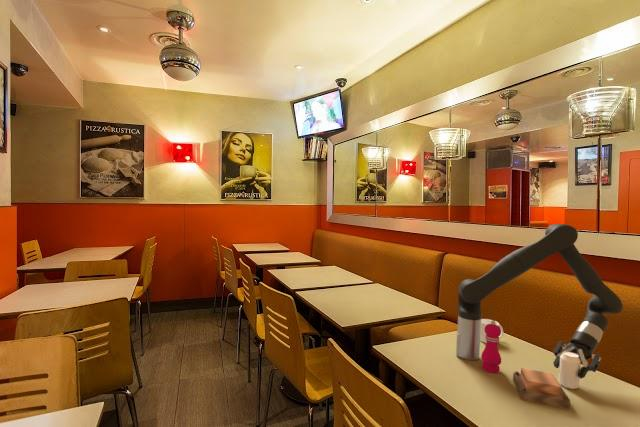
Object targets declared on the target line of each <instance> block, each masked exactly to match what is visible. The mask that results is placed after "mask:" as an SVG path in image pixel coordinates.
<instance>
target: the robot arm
mask: <svg viewBox="0 0 640 427" xmlns="http://www.w3.org/2000/svg"><path fill="white" fill-rule="evenodd" d="M544 234H545V235H544V236H543V237H542V238H540V239H539V240H537V241H535V242H533V243H531V244H528V245H525V246H523V247H520V248H518V249H516V250H514V251H512V252H510V253H509V254H507V255H506V256H504V257H503V258H501V259H499V260H498V262H497V263H495V264H494V265H493V267H492V268H491V269H489V271H487V273H485V274H484V275H482V276H480V277H479V278H476V279H471V278H467V279H464V280H462V281H461V283H460V284H459V286H458V297H457V299H458V300H457V302H458V303H457V310H458V311H457V312H458V313H457V316H458V317H457V331H456V341H455V342H456V344H455V345H456V346H455V348H456V349H455V353H456V354H455V355H456V357H459V358H462V359H463V360H469V361H477V360H479V359H480V348H481V347H480V345H481V341H480V331H481V319H482V308H481V307H482V306H481V305H482V304H481V301H483V300H484V299H486V298H487V297H488V296H489V295H490V294H492V293H493V292H495V291H496V290H497V289H499V288H501V287H502V286H504V285H506V284H507V283H510V282H511V281H512V280H515V279H517V278H518V277H520V276H521V275H523V274H524V273H526V272H528V271H529V270H531V269H532V268H534V267H535V266H537V265H539V264H540V263H542V262H543V261H544V260H546V259H547V258H549V257H551V256H553V255H556V253H558V254H560V256H561V257H562V258H563V260H564V261H565V263H566V264H567V266H568V267H569V268H570V270H571V272H572V273H573V275H574V276H575V278H576V279H577V281H578V283H579V284H580V285H581V287H582V289H583V290H584V291H585V292H586V293H588V294H592V295H593V296H591V298H590V299H589V300H588V303H587V308H586V314H585V317H584V318H583V320H582V321H581V323H580V324H579V325H578V327H577V328H576V330H575V331H574V334H573V335H572V337H571V339H570V340H569V341H570V342H569V343H567V344H566V343H563V341H561V340H559V341H558V342H557V344H556V346H555V348H554V349H553V350H552V353H553V355H554V356H555V359H554V361H553V366H554V368H555V369H559V366H560V356H561V355H562V353H563V352H565V351H566V352H572V353H575V354H577V355H578V356H579V359H580V361H581V362H582V366H580V371H579V372H578V377H579V378H580V379H585V377H586V375H587V374H588V372H593V373H596V371H597V370H598V368H599V366H600V364H601V362H602V357H601V356H600V354H598V353H596V354H594V352H595V350H596V348H597V347H598V345H599V343H600V342H601V339H602V337H603V335H604V333H605V331H606V329H607V327H608V325H609V320H608V318H607V316H605V315H604V314H606V315H607V314H608V315H609V314H610V315H611V314H612V315H616V314H620V313H621V312H622V311H623V307H624V306H623V301H622V300H621V298H620V297H619V296H618V295H617V294H616V293H615V292H614V291H613V290H612V289H611V288H610V287H608V285H606V284H605V283H604V281H603V280H602V278H601V277H600V275H599V274H598V273H597V271H596V270H595V268H594V267H593V266H592V264H590V262H589V261H588V260H587V259H586V258H585V257H584V256H583V255H582V253H580V251H579V250H578V248H577V247H576V246H575V243H576V242H577V241H578V237H579V233H578V231H577V228H575V227H574V226H573V225H569V224H566V223H554V224H551V225H549V226H548V227H547V228H546V229H545V232H544ZM589 359H592V360H591V363H590V364H589V363H588V360H589Z"/></svg>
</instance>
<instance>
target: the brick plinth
mask: <svg viewBox="0 0 640 427" xmlns="http://www.w3.org/2000/svg"><path fill="white" fill-rule="evenodd" d="M512 381H513V383H514V385H515V388H516V391H517V394H518V395H519V396H518V397H519V398H520V400H523V401H527V402H533V403H537V404H540V405H541V404H542V405H547V406H552V407H556V408H561V409H566V410H570V408H571V407H570V404H571V400H570V398H569V396H568V395H567V393H566V392H565V390H564V389H563V388H562V385H561V384H560V383H559V380H558V379H557V378H556V377H555V375H554V373H551V372H546V371H545V372H544V371H540V370H536V369H528V368H524V367H521V368H520V372H519V371H517V370H516V371H514V372H513V376H512Z"/></svg>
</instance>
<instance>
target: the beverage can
mask: <svg viewBox="0 0 640 427" xmlns="http://www.w3.org/2000/svg"><path fill="white" fill-rule="evenodd" d="M581 362H582V361H580V359H579V356H578V355H577V354H575V353H572V352H566V351H565V352H563V353H562V355H561V356H560V366H559V368H558V383H559V384H560V385H561V387H562V386H563V387H564V388H567V389H569V390H576V389H578V388H580V381H581V380H580V379H581V378H579V377H578V372H579V371H580V369H581V365H582V364H581Z"/></svg>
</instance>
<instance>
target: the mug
mask: <svg viewBox="0 0 640 427" xmlns="http://www.w3.org/2000/svg"><path fill="white" fill-rule="evenodd" d="M492 320H493V319H489V318H481V331H480V343H483V342H484V344H487V340H486V335H487V334H486V333H485V326H486V325H487V324H491V321H492ZM494 321H495V322H496V324H495V325H497V326H499V327H500V329H501V335H500V336H499V339H500V338H502V337H503V336H504V329H503V326H502V325H501V324H500V323H499V322H498V321H496V320H494Z"/></svg>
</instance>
